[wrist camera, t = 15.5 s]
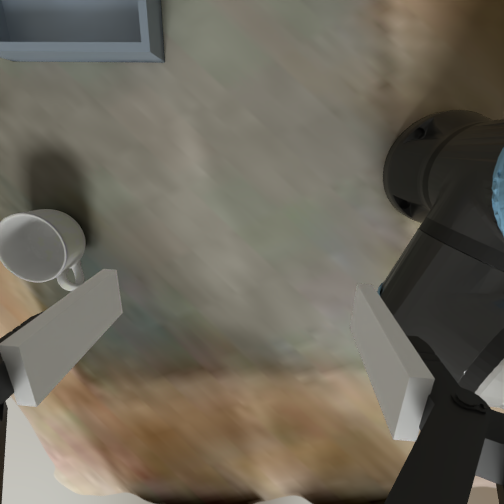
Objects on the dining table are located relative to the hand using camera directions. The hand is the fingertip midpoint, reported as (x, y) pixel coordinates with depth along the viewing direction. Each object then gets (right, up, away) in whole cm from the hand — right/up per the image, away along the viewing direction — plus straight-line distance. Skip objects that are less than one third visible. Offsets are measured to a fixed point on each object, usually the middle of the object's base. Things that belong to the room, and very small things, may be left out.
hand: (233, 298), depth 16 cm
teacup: (-30, +4, +35) cm, 47 cm away
